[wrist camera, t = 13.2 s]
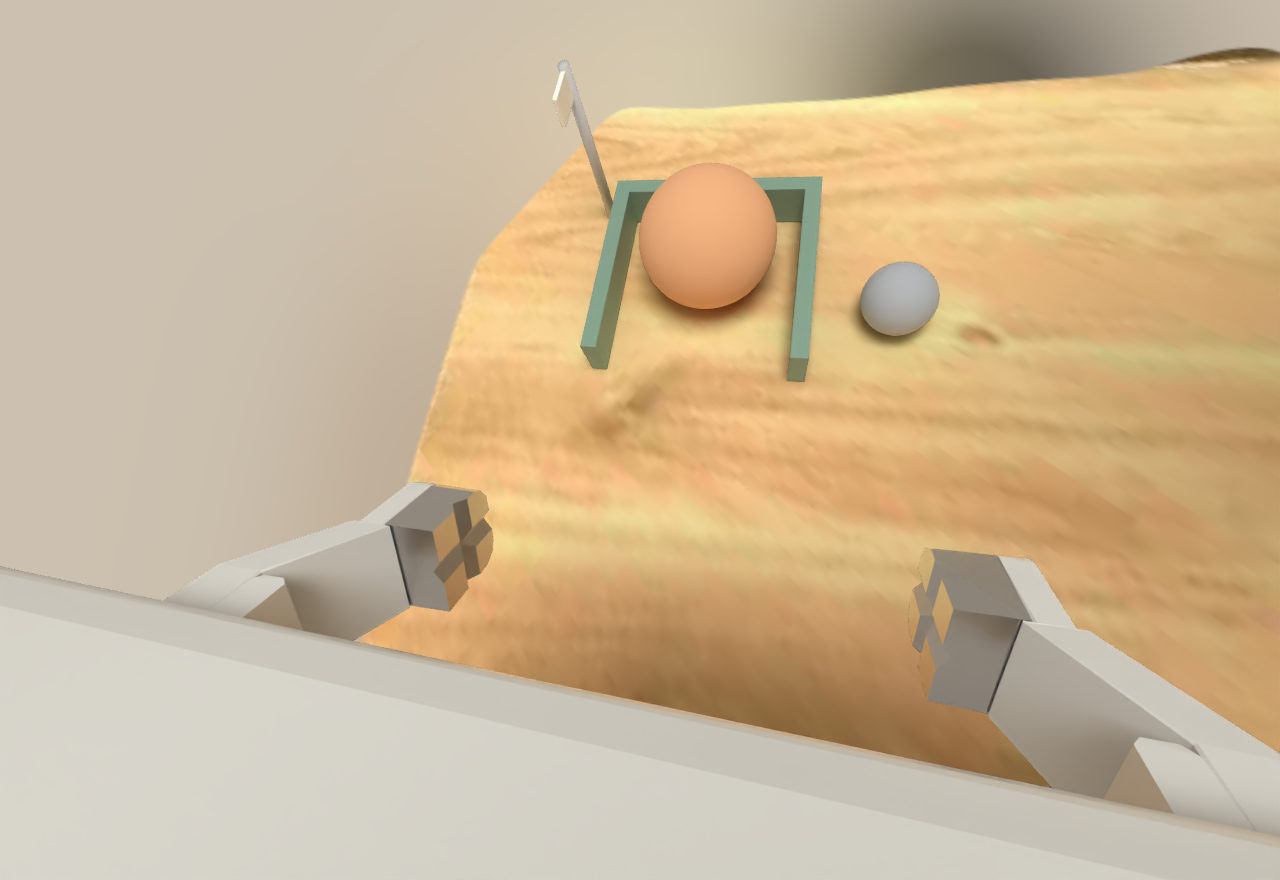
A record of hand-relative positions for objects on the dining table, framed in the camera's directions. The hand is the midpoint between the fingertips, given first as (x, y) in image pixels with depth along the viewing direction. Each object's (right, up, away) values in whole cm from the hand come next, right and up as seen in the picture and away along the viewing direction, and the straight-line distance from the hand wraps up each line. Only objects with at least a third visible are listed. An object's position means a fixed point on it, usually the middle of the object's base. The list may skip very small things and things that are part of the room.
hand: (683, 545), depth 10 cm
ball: (+4, +17, +30) cm, 34 cm away
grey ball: (+17, +12, +28) cm, 35 cm away
